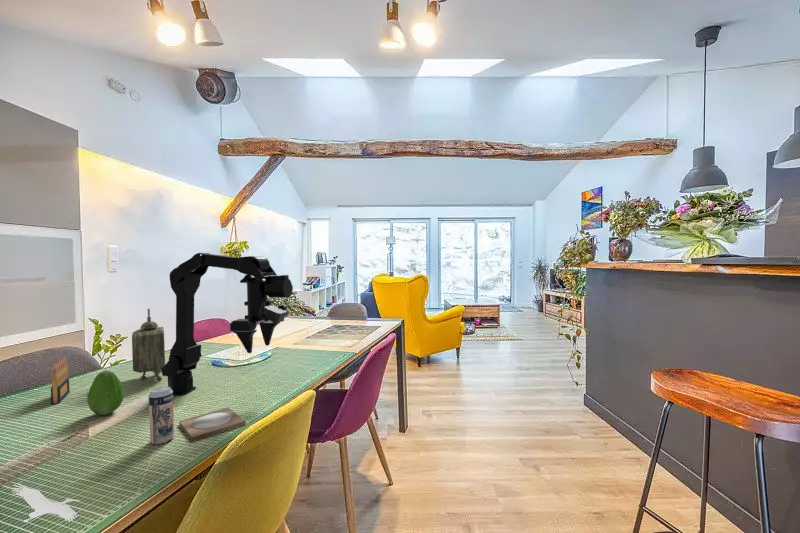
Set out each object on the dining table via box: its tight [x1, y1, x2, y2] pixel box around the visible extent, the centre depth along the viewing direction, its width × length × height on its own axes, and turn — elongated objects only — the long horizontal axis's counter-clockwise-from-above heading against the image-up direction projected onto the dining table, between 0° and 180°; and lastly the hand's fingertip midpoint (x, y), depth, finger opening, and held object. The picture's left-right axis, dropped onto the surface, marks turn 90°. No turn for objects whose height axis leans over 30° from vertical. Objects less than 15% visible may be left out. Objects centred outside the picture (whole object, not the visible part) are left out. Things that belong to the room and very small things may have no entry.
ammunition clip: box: [50, 356, 71, 406], centre depth 113 cm, size 11×2×12 cm, turn 30°
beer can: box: [148, 385, 175, 445], centre depth 85 cm, size 5×5×12 cm
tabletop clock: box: [131, 308, 166, 382], centre depth 130 cm, size 14×9×25 cm, turn 34°
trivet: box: [178, 406, 246, 442], centre depth 93 cm, size 12×12×1 cm
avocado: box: [86, 370, 125, 416], centre depth 101 cm, size 8×8×12 cm
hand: (258, 349), depth 111 cm, fingers open, 9 cm apart
